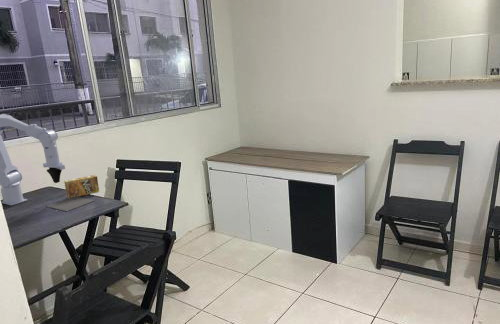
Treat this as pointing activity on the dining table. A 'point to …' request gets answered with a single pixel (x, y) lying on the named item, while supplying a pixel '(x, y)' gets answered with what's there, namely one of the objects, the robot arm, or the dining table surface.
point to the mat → (70, 203)
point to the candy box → (81, 186)
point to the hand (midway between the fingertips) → (56, 182)
